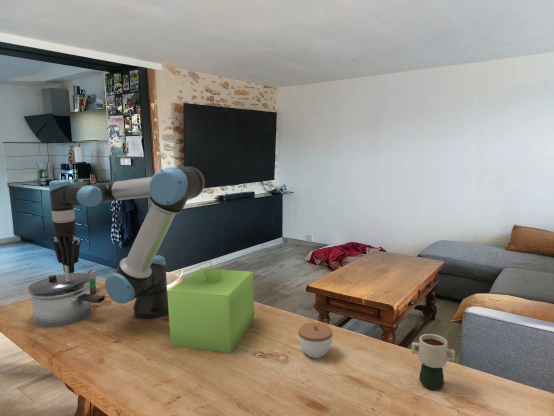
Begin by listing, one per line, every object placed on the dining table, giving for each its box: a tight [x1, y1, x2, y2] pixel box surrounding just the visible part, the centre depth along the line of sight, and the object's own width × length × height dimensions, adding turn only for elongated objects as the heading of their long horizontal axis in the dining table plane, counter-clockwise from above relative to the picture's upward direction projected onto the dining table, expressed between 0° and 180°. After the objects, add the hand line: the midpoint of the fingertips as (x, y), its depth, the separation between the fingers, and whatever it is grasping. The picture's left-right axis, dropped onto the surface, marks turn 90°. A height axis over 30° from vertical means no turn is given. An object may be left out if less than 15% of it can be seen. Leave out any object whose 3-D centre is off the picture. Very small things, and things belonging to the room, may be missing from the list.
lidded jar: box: [298, 322, 333, 359], centre depth 122 cm, size 11×11×9 cm
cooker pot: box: [29, 281, 105, 328], centre depth 151 cm, size 31×21×12 cm
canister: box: [167, 267, 255, 354], centre depth 136 cm, size 25×21×23 cm
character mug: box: [411, 333, 456, 390], centre depth 105 cm, size 11×7×13 cm, turn 64°
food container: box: [85, 268, 98, 295], centre depth 176 cm, size 12×6×10 cm, turn 168°
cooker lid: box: [27, 272, 90, 294], centre depth 151 cm, size 21×21×4 cm
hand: (70, 280), depth 150 cm, fingers closed
